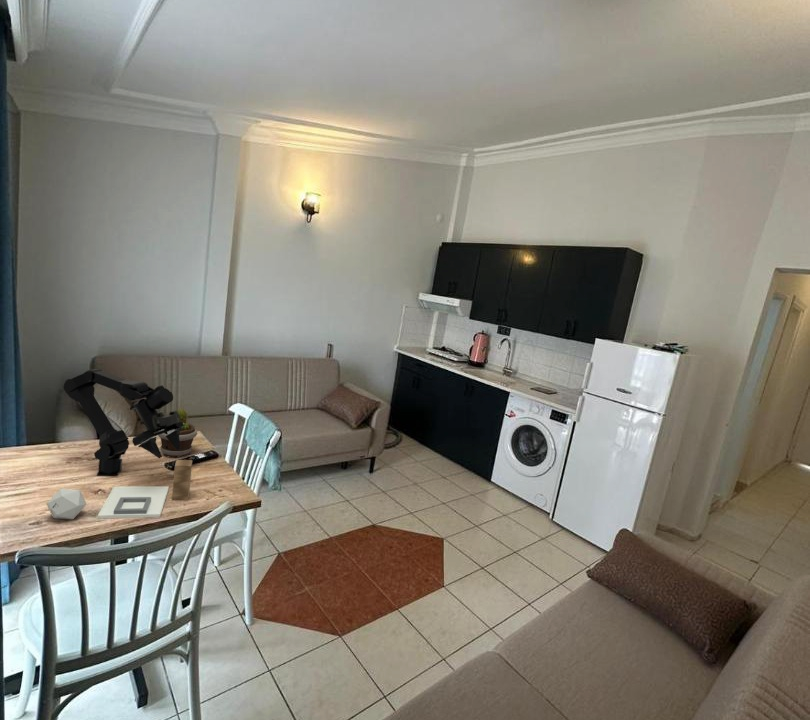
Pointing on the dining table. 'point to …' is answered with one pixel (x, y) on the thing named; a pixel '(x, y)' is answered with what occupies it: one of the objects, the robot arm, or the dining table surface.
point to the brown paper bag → (182, 480)
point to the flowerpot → (184, 436)
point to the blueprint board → (134, 502)
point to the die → (66, 504)
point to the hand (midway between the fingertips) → (170, 453)
